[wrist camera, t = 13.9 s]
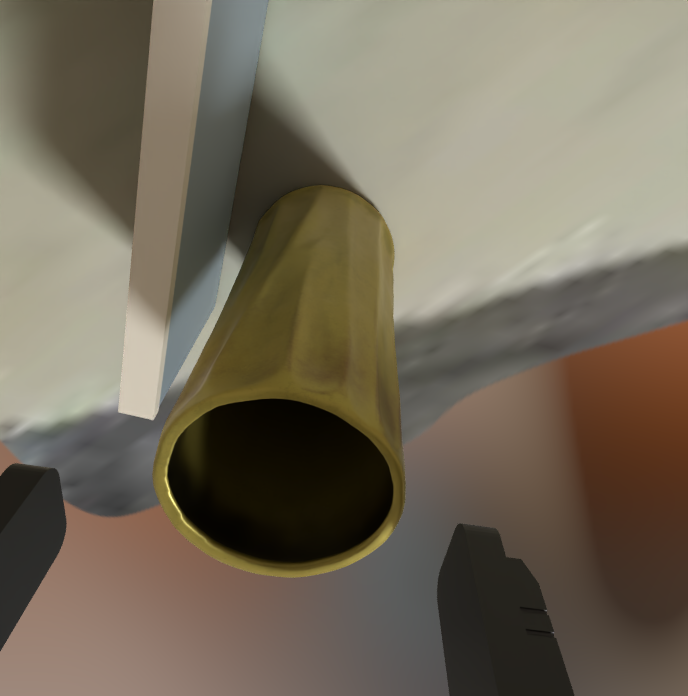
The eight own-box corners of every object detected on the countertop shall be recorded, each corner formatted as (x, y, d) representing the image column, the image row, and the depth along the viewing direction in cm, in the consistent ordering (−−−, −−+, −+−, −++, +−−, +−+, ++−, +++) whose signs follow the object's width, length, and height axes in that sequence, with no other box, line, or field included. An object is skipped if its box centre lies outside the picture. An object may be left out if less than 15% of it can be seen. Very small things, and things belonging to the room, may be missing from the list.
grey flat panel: (242, -65, 18) (155, -147, 10) (283, -52, 18) (227, -121, 10) (189, 298, 24) (111, 413, 17) (219, 306, 25) (156, 424, 17)
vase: (280, 159, 21) (166, 317, 9) (418, 218, 22) (487, 434, 10) (235, 289, 24) (102, 546, 12) (360, 337, 25) (358, 620, 13)
